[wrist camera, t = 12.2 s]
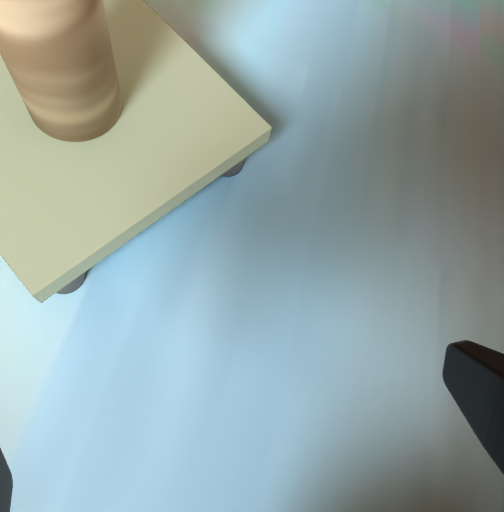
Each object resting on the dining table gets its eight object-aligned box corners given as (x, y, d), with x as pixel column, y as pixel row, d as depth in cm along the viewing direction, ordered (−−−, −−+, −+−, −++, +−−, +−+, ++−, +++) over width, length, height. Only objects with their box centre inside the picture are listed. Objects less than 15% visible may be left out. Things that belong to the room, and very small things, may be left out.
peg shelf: (57, 315, 22) (32, 296, 19) (-93, 126, 25) (-139, 78, 21) (261, 165, 27) (272, 127, 23) (118, 19, 29) (108, -35, 26)
